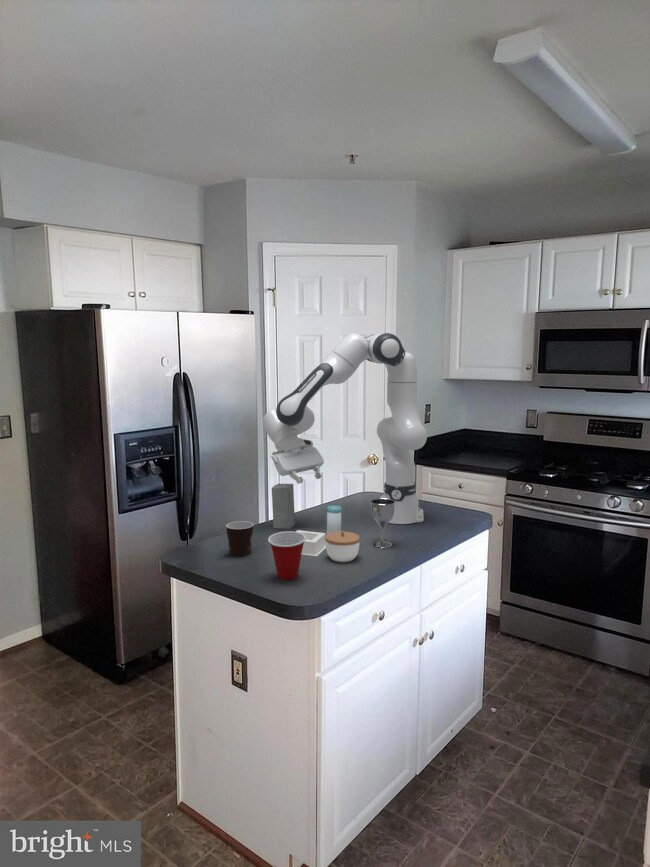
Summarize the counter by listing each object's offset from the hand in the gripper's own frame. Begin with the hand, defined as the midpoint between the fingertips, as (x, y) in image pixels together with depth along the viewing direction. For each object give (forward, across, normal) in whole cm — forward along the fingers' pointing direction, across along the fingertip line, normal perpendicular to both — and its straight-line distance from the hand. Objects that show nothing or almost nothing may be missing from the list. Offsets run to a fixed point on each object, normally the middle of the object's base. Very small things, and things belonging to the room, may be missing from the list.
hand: (310, 480), depth 212 cm
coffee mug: (+13, -30, +15) cm, 36 cm away
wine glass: (+32, +8, -5) cm, 33 cm away
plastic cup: (+30, -33, -3) cm, 45 cm away
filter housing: (+22, -13, +6) cm, 26 cm away
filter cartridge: (+22, 0, +5) cm, 23 cm away
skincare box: (+5, -1, +23) cm, 24 cm away
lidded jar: (+32, -12, -5) cm, 35 cm away
